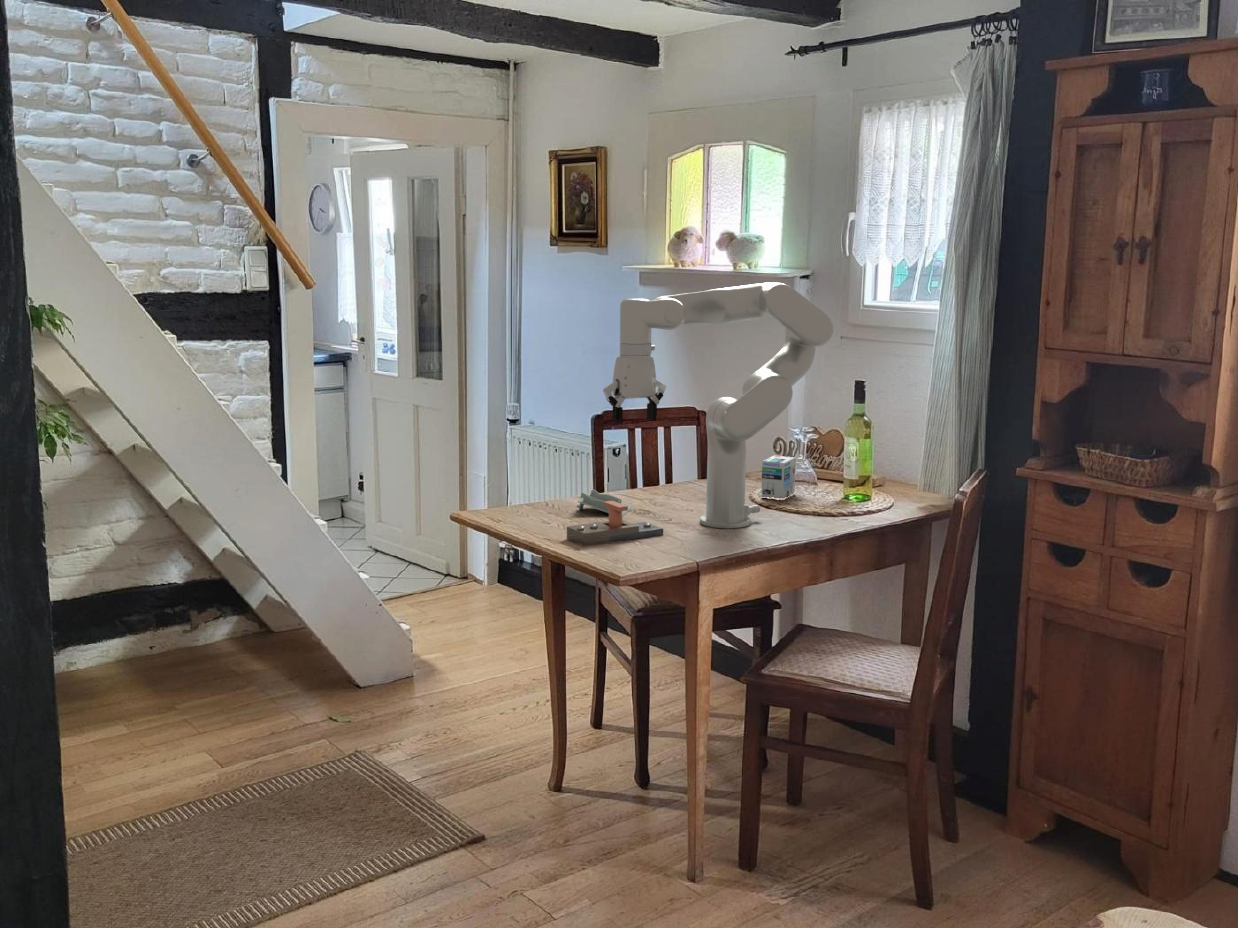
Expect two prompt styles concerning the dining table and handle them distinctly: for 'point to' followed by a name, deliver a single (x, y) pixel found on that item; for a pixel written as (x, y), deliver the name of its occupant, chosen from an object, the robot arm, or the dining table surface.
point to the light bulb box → (778, 476)
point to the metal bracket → (600, 501)
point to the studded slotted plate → (610, 532)
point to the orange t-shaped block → (615, 513)
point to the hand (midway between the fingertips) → (634, 421)
